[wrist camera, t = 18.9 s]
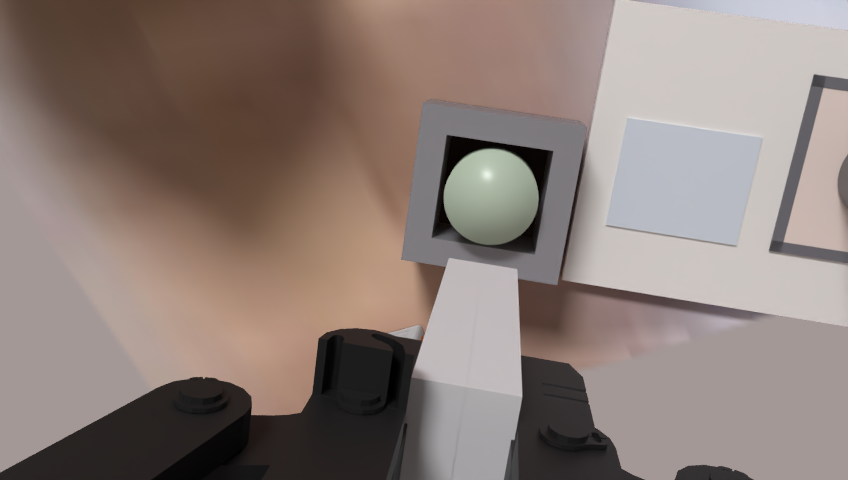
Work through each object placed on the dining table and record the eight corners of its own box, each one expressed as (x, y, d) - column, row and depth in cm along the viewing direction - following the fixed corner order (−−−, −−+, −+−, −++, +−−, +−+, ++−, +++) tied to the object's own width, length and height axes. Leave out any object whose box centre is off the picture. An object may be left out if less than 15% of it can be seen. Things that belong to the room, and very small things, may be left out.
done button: (544, 154, 34) (546, 159, 32) (528, 241, 34) (529, 251, 32) (454, 140, 34) (451, 144, 32) (441, 227, 35) (437, 236, 33)
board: (1034, 57, 33) (1046, 57, 32) (944, 339, 36) (952, 344, 35) (614, -1, 34) (616, -2, 33) (561, 276, 37) (562, 280, 36)
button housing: (579, 121, 35) (587, 126, 32) (552, 265, 37) (557, 285, 34) (431, 99, 36) (423, 102, 32) (410, 242, 38) (401, 259, 34)
